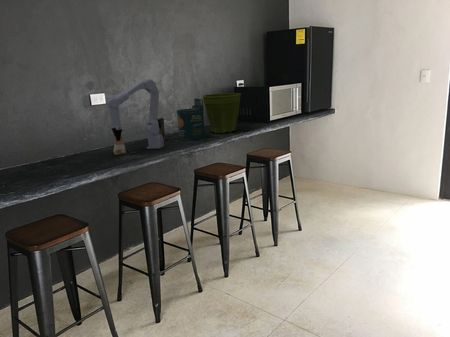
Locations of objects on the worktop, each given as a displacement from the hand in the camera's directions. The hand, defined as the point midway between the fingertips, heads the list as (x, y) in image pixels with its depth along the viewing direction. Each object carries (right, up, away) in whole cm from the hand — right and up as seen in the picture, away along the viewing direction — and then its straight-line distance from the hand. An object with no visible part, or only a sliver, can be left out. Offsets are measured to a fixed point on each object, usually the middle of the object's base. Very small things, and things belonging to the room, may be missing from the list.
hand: (117, 139), depth 237 cm
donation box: (+43, +4, +39) cm, 58 cm away
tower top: (+1, -6, +1) cm, 6 cm away
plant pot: (+66, +11, +61) cm, 90 cm away
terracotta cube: (+1, -3, +1) cm, 3 cm away
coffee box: (+20, +2, +36) cm, 41 cm away
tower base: (0, -8, +2) cm, 9 cm away
